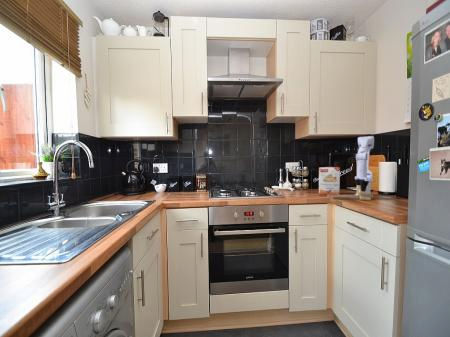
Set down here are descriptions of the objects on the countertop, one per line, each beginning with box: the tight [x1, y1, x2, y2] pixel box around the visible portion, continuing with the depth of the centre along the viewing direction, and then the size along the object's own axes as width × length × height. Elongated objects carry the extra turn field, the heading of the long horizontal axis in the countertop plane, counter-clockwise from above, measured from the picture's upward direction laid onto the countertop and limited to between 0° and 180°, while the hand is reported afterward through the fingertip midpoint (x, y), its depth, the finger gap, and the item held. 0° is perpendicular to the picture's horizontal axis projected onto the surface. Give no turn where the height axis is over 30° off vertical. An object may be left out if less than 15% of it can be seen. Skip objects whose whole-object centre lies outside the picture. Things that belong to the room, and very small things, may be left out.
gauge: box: [356, 185, 372, 201], centre depth 145 cm, size 9×6×8 cm, turn 174°
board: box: [326, 194, 373, 201], centre depth 150 cm, size 12×24×2 cm, turn 84°
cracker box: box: [318, 166, 341, 195], centre depth 169 cm, size 14×6×21 cm, turn 76°
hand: (361, 190), depth 146 cm, fingers closed on gauge, 4 cm apart
